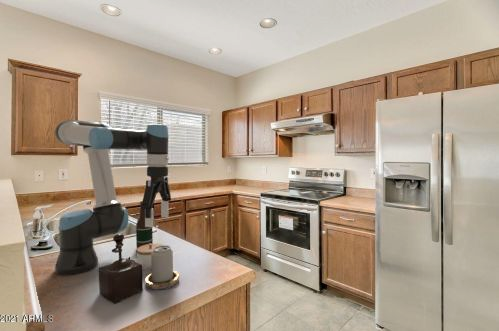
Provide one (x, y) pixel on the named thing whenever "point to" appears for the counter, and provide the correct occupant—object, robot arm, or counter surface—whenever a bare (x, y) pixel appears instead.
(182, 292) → the counter surface
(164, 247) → the can
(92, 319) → the counter surface
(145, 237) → the beer bottle
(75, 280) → the counter surface
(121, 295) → the dark brown coffee grinder
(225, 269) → the counter surface
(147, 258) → the lidded jar
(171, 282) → the coaster
